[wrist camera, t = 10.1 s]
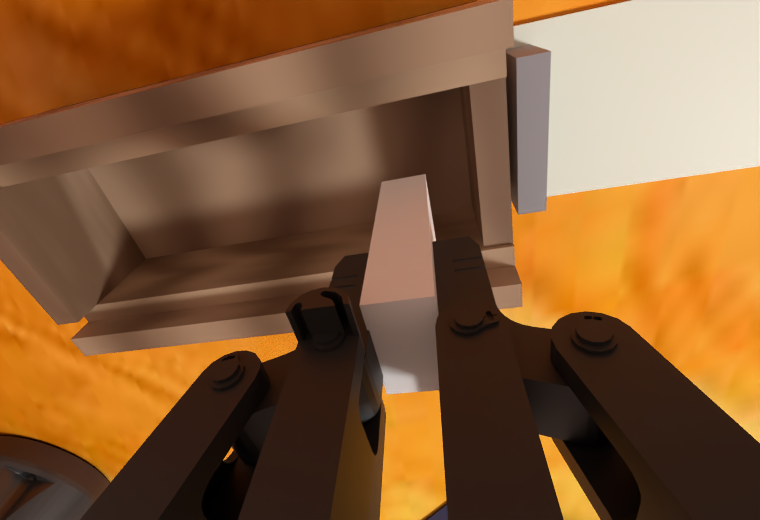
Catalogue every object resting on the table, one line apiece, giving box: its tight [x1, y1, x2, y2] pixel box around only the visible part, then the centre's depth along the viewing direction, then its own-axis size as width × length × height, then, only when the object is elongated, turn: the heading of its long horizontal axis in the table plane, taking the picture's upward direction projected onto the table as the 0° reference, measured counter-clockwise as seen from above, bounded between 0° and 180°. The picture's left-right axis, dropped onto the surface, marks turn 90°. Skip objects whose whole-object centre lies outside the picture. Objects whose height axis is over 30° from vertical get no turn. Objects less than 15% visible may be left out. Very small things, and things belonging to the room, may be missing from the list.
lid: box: [506, 0, 760, 214], centre depth 16 cm, size 19×8×4 cm, turn 101°
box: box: [0, 0, 522, 356], centre depth 18 cm, size 22×11×6 cm, turn 103°
